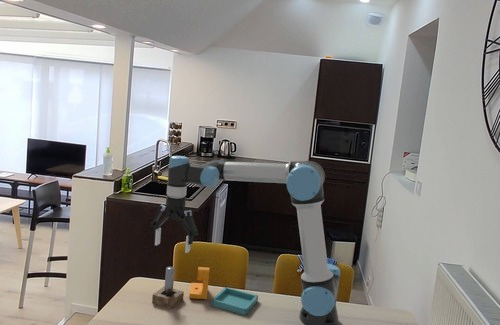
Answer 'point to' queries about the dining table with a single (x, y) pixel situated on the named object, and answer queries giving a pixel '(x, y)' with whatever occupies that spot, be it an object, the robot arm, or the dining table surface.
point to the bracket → (200, 284)
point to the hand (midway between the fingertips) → (172, 248)
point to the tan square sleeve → (167, 298)
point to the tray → (235, 300)
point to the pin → (169, 281)
